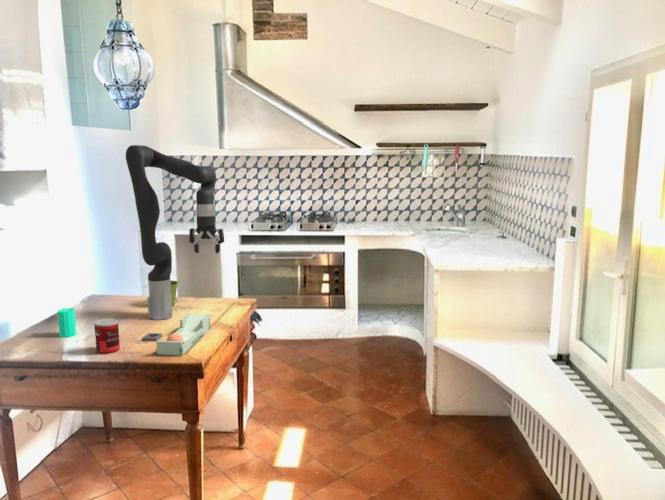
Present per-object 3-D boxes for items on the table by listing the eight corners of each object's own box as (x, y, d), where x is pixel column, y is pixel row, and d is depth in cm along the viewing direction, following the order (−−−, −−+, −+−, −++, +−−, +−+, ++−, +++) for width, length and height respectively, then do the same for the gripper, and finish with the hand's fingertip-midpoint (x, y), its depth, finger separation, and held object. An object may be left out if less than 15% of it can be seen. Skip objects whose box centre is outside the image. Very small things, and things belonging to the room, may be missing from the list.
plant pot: (162, 310, 243) (160, 287, 241) (149, 306, 251) (148, 283, 249) (184, 305, 252) (183, 282, 250) (171, 301, 260) (170, 279, 258)
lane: (157, 355, 187) (156, 338, 186) (189, 327, 218) (188, 313, 217) (182, 356, 186) (181, 339, 185) (211, 328, 217) (210, 313, 216)
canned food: (100, 347, 196) (98, 318, 194) (122, 346, 196) (120, 318, 194) (93, 354, 188) (90, 325, 186) (116, 353, 189) (114, 324, 187)
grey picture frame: (142, 340, 202) (142, 337, 202) (148, 336, 208) (148, 333, 208) (156, 341, 202) (156, 338, 202) (162, 336, 207) (162, 333, 207)
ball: (171, 341, 196) (165, 353, 191) (168, 329, 193) (162, 340, 188) (187, 342, 195) (181, 353, 190) (183, 330, 192) (178, 341, 187)
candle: (79, 333, 211) (77, 304, 209) (67, 338, 206) (65, 308, 204) (68, 332, 213) (65, 303, 211) (56, 336, 208) (53, 307, 206)
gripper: (185, 215, 215) (187, 254, 218) (219, 215, 214) (221, 254, 217) (192, 213, 223) (194, 251, 225) (225, 213, 221) (226, 251, 224)
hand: (207, 253), depth 221 cm, fingers open, 8 cm apart
